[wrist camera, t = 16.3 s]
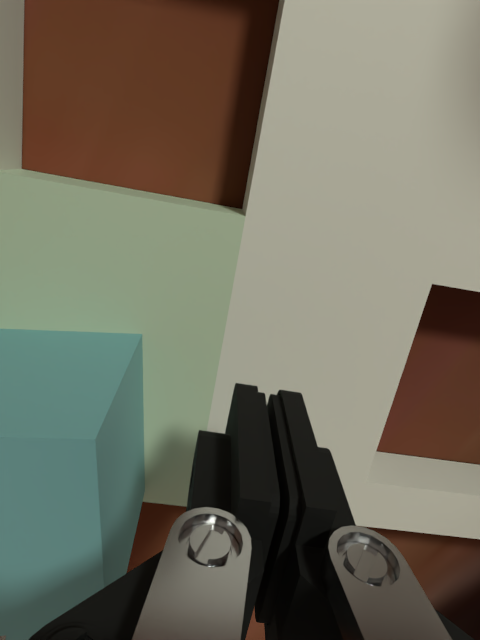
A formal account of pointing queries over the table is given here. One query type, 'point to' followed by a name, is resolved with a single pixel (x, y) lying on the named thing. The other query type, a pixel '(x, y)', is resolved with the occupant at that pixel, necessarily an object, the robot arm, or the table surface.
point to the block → (66, 469)
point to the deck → (281, 249)
